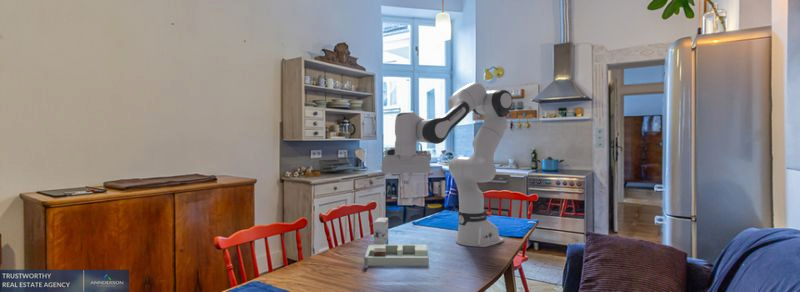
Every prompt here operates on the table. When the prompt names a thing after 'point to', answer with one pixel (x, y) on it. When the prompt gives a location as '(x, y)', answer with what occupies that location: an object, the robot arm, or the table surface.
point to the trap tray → (398, 256)
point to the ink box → (381, 231)
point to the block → (379, 251)
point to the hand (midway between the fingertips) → (406, 184)
